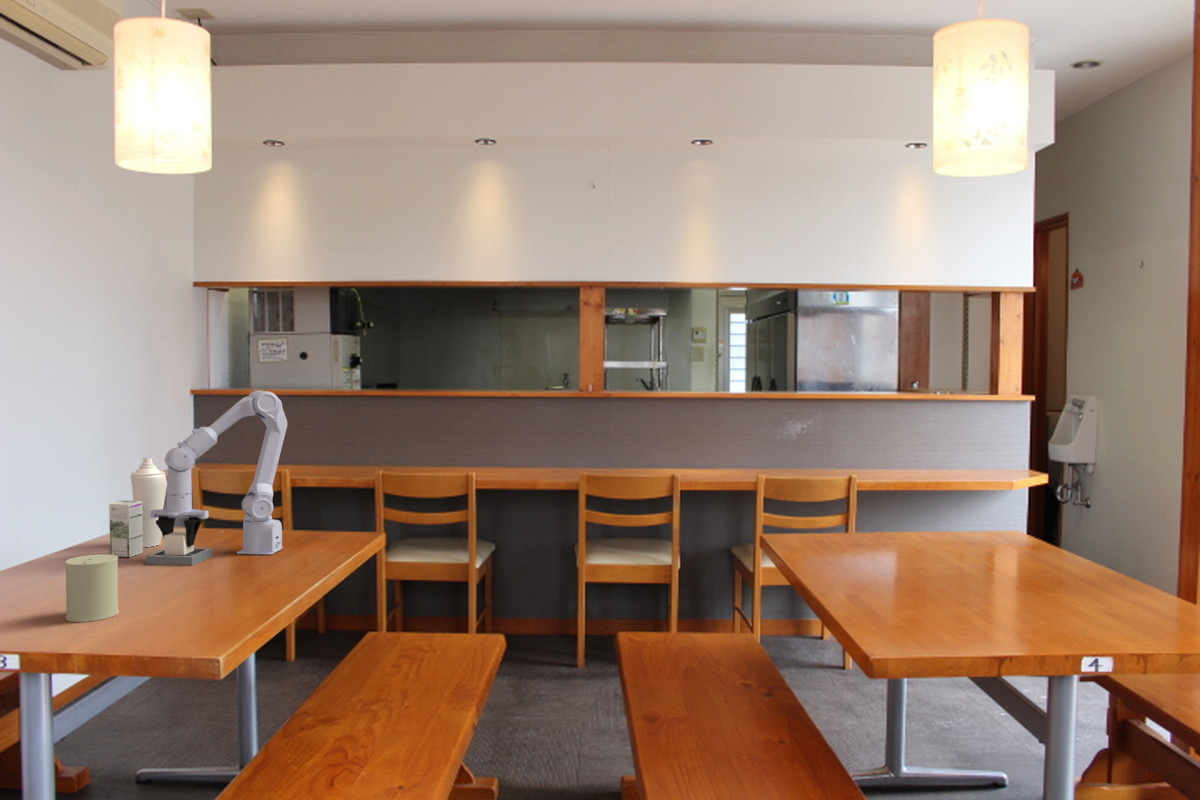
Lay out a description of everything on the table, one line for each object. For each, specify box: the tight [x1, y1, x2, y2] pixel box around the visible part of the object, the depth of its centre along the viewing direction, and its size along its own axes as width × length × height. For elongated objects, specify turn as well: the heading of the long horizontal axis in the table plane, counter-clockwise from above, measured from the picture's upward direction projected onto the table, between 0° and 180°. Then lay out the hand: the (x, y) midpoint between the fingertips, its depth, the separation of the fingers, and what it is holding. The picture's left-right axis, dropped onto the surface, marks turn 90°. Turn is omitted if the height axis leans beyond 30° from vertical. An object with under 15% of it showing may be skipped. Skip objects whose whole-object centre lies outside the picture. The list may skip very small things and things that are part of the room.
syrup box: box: [108, 499, 144, 558], centre depth 219 cm, size 6×6×14 cm
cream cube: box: [163, 531, 195, 555], centre depth 214 cm, size 5×5×5 cm
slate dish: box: [145, 547, 213, 566], centre depth 214 cm, size 12×10×2 cm
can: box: [64, 553, 120, 623], centre depth 167 cm, size 9×9×12 cm
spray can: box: [129, 457, 167, 548], centre depth 231 cm, size 12×11×25 cm
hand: (179, 545), depth 214 cm, fingers closed on cream cube, 5 cm apart
